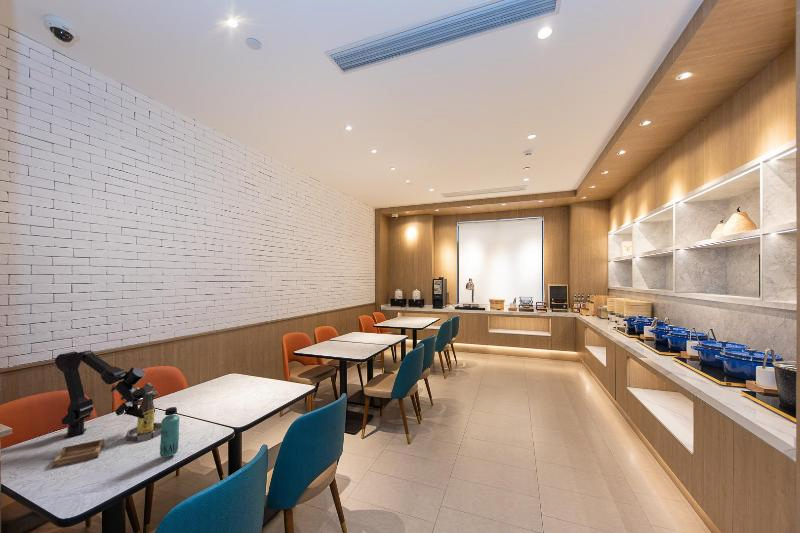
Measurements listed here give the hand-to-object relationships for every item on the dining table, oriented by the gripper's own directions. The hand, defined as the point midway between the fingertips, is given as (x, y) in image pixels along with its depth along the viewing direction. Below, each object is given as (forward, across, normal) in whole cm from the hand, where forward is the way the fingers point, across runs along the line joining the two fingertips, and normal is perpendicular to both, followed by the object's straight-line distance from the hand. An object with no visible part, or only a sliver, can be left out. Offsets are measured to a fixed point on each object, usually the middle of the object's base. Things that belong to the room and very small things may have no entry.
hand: (149, 415), depth 152 cm
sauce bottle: (+6, 0, +8) cm, 9 cm away
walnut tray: (-3, -19, +16) cm, 25 cm away
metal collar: (+6, 0, +7) cm, 9 cm away
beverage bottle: (+24, -18, -11) cm, 32 cm away
